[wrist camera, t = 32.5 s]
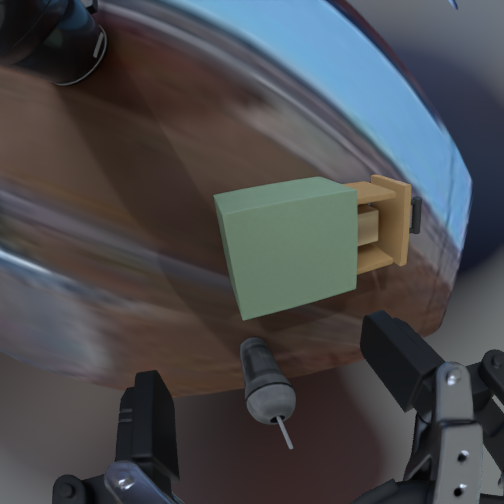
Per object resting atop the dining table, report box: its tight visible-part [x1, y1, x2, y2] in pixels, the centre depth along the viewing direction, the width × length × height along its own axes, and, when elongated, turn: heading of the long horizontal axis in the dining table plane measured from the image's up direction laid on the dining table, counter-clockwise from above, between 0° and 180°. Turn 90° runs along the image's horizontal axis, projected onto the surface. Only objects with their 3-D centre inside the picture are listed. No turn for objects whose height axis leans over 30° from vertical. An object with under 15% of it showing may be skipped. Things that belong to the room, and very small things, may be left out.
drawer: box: [342, 174, 422, 274], centre depth 36 cm, size 18×11×8 cm, turn 98°
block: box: [357, 204, 378, 246], centre depth 36 cm, size 4×4×4 cm
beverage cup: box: [240, 337, 296, 449], centre depth 37 cm, size 7×7×20 cm
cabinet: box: [213, 177, 358, 320], centre depth 34 cm, size 15×13×10 cm
